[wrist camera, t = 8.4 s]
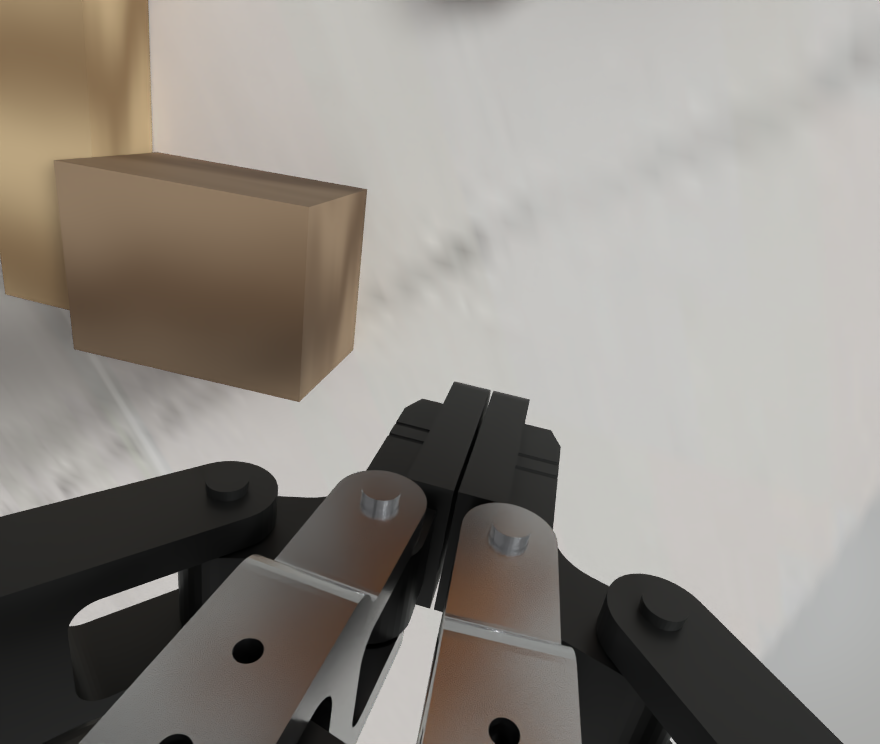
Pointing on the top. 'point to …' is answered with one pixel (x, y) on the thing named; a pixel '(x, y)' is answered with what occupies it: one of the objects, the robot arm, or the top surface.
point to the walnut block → (211, 268)
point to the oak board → (63, 120)
